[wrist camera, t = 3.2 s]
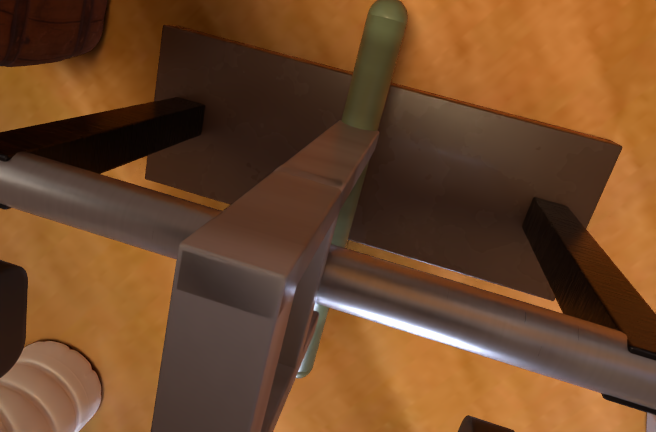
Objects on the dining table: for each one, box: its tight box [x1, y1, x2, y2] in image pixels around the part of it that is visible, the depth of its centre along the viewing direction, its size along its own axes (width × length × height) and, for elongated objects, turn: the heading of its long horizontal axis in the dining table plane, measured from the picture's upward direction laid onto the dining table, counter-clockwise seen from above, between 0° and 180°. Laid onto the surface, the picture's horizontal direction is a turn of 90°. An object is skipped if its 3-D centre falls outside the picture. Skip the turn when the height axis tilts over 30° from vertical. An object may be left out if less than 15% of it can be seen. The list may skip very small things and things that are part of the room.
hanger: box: [151, 0, 408, 432], centre depth 15 cm, size 16×2×14 cm, turn 166°
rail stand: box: [0, 25, 656, 415], centre depth 20 cm, size 8×22×15 cm, turn 76°
